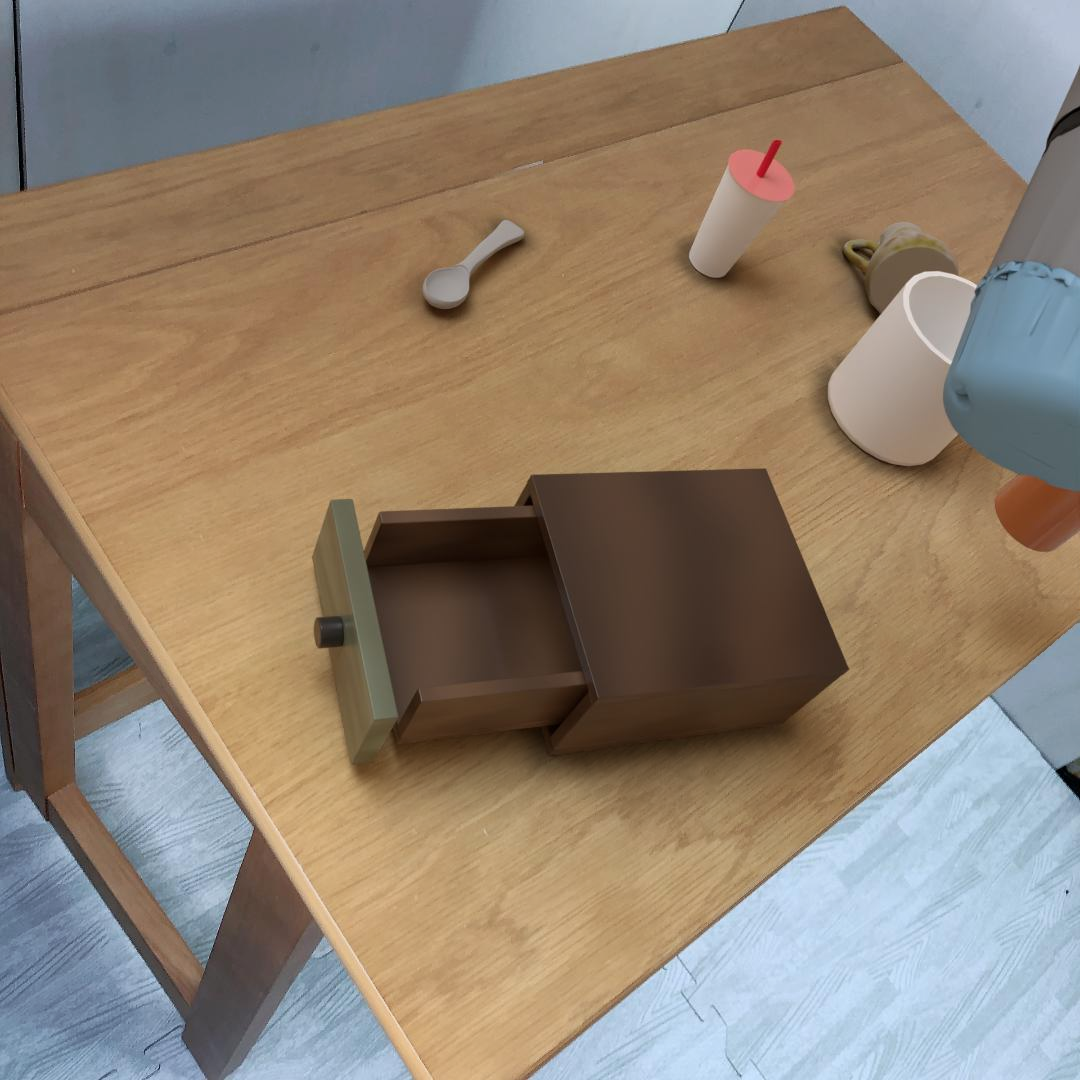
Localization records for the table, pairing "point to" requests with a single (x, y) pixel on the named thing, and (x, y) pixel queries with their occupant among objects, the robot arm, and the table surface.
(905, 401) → the mug
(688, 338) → the table surface
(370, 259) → the table surface
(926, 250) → the mug
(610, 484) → the cabinet
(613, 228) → the table surface
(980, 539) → the table surface
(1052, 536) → the orange cylindrical post
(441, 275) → the spoon
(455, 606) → the drawer
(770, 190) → the cup
